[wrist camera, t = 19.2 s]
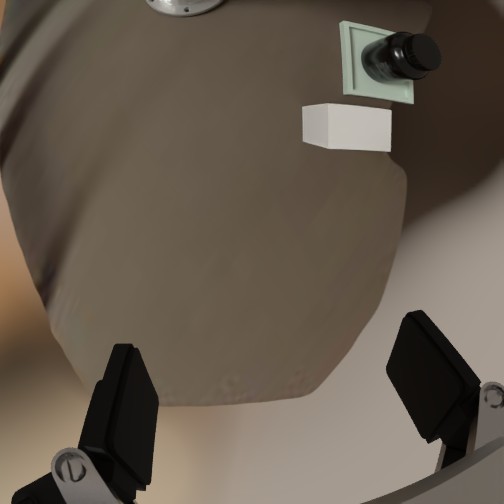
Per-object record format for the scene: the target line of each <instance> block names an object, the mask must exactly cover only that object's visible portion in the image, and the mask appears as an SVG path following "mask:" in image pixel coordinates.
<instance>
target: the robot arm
mask: <svg viewBox="0 0 504 504" xmlns="http://www.w3.org/2000/svg"><path fill="white" fill-rule="evenodd" d="M152 1H153V0H146V2H147V3H148V4H149V5H150V7H151V8H153V9H154V10H156V11H157V12H159V13H162V14H164V15H168V16H174V17H186V16H193V15H198V14H201V13H204V12H207V11H209V10H211V9H213V8H215V7H216V6H217V5H219V4H220V3H222V2H223V1H224V0H155V1H153V2H152ZM186 11H189V12H186ZM386 372H387V375H388V377H389V379H390V380H391V382H392V384H393V386H394V387H395V389H396V391H397V393H398V395H399V396H400V398H401V400H402V402H403V404H404V405H405V407H406V409H407V411H408V413H409V415H410V416H411V419H412V420H413V422H414V424H415V426H416V428H417V430H418V432H419V434H420V435H421V437H422V438H424V439H426V441H427V443H428V444H429V443H431V442H433V441H435V440H437V439H439V438H441V440H442V446H441V450H440V454H439V458H438V462H437V466H436V469H435V473H434V474H432V475H430V476H428V477H426V478H424V479H422V480H420V481H418V482H415V483H413V484H411V485H409V486H406V487H404V488H402V489H399V490H397V491H394V492H392V493H389V494H387V495H384V496H382V497H379V498H376V499H373V500H370V501H368V502H365V503H362V504H504V386H503V385H501V384H500V383H497V382H488V383H485V384H484V385H483V387H482V388H481V387H480V386H479V385H480V383H481V381H480V379H479V378H478V377H477V376H476V374H475V373H474V372H473V371H472V369H471V368H470V367H469V365H468V364H467V363H466V361H465V360H464V359H463V358H462V356H461V355H460V354H459V353H458V351H457V350H456V349H455V348H454V347H453V345H452V344H451V343H450V342H449V340H448V339H447V338H446V337H445V336H444V334H443V333H442V332H441V331H440V330H439V329H438V327H437V326H436V325H435V324H434V323H433V322H432V320H431V319H430V318H429V317H428V316H427V315H426V314H425V312H423V311H422V310H417V311H413V312H408V313H407V314H406V316H405V317H404V318H403V320H402V322H401V326H400V329H399V332H398V335H397V338H396V341H395V344H394V347H393V350H392V352H391V355H390V358H389V360H388V363H387V366H386ZM158 406H159V400H158V395H157V393H156V391H155V388H154V386H153V384H152V381H151V379H150V377H149V374H148V372H147V369H146V367H145V364H144V362H143V359H142V357H141V354H140V351H139V349H138V348H134V346H133V345H132V344H115V345H114V347H113V350H112V353H111V356H110V358H109V361H108V364H107V367H106V370H105V373H104V377H103V380H99V381H98V382H97V384H96V386H95V389H94V392H93V395H92V398H91V401H90V405H89V408H88V411H87V415H86V418H85V422H84V426H83V429H82V433H81V436H80V441H79V444H78V448H77V449H76V448H65V449H62V450H60V451H59V452H58V453H57V454H56V455H55V456H54V458H53V460H52V463H51V472H50V473H48V474H46V475H44V476H43V477H41V478H39V479H37V480H36V481H34V482H32V483H30V484H28V485H26V486H25V487H23V488H21V489H19V490H18V491H16V492H15V493H14V495H13V497H12V501H11V504H137V502H136V501H135V500H134V499H136V490H140V491H146V485H150V483H151V476H152V462H153V452H154V442H155V441H154V440H155V432H156V423H157V414H158Z"/></svg>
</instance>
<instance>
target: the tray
mask: <svg viewBox="0 0 504 504" xmlns="http://www.w3.org/2000/svg"><path fill="white" fill-rule="evenodd" d="M339 25H340V36H341V50H342V67H343V93H344V95H352V96H361V97H369V98H376V99H382V100H389V101H395V102H400V103H406V104H414V96H413V80H412V81H404V82H396V83H388V84H383V83H379V82H376V81H374V80H373V79H371V78H370V77H369V76H368V75H367V73H366V72H365V71H364V69H363V66H362V63H361V53H362V50H363V49H364V47H365V46H366V45H368V44H370V43H372V42H374V41H376V40H379V39H381V38H384V37H386V36H389V35H391V34H394V32H391V31H387V30H383V29H379V28H375V27H371V26H367V25H362V24H357V23H352V22H347V21H342V22H341V23H339Z"/></svg>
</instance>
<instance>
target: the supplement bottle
mask: <svg viewBox="0 0 504 504" xmlns="http://www.w3.org/2000/svg"><path fill="white" fill-rule="evenodd" d="M441 58H442V56H441V52H440V49H439V47H438V45H437V44H436V42H435V41H434V40H433V39H432V38H431V37H429V36H427V35H425V34H420V33H419V34H415V35H413V34H411V33H408V32H397V33H394V34H391V35H389V36H386V37H384V38H381V39H379V40H376V41H374V42H372V43H370V44H368V45H366V46H365V47H364V49H363V50H362V53H361V63H362V66H363V69H364V71H365V72H366V73H367V75H368V76H369V77H370V78H371V79H373V80H374V81H376V82H379V83H383V84H388V83H396V82H404V81H412V80H419V79H422V78H424V77H425V76H426V75H427V74H428V73H429V71H431V70H435V69H437V68H439V66H440V64H441V61H442V59H441Z"/></svg>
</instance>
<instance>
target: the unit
mask: <svg viewBox="0 0 504 504" xmlns="http://www.w3.org/2000/svg"><path fill="white" fill-rule="evenodd" d="M302 112H303V142H307V143H310V144H314V145H317V146H321V147H324V148H328V149H354V150H373V151H388V152H390V151H391V110H386V109H379V108H376V107H368V106H360V105H350V104H339V103H327V104H319V105H311V106H304V107H302Z"/></svg>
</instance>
